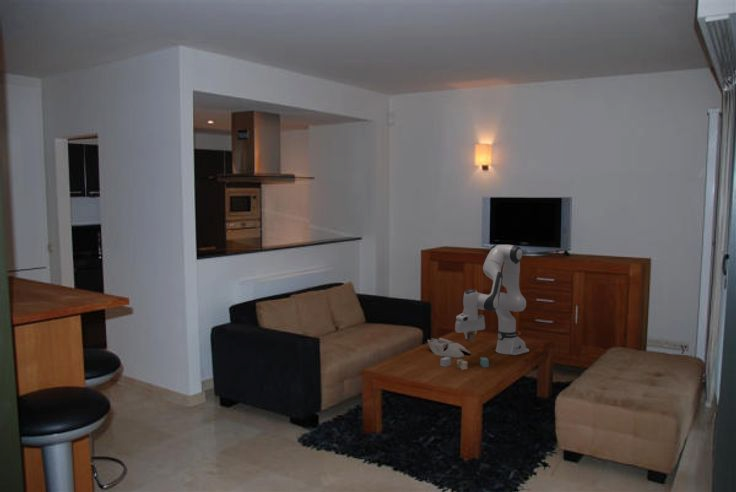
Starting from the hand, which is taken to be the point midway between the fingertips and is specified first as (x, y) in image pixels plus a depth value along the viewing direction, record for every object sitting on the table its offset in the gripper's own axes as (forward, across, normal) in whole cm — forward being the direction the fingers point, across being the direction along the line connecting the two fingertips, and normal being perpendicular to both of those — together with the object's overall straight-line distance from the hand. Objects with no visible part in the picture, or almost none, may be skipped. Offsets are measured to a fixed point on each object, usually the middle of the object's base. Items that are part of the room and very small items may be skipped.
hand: (470, 338), depth 378 cm
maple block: (+16, +9, +5) cm, 19 cm away
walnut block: (+2, 0, 0) cm, 2 cm away
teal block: (+16, -6, +7) cm, 19 cm away
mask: (+17, -2, -28) cm, 32 cm away
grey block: (+16, +15, -4) cm, 23 cm away
